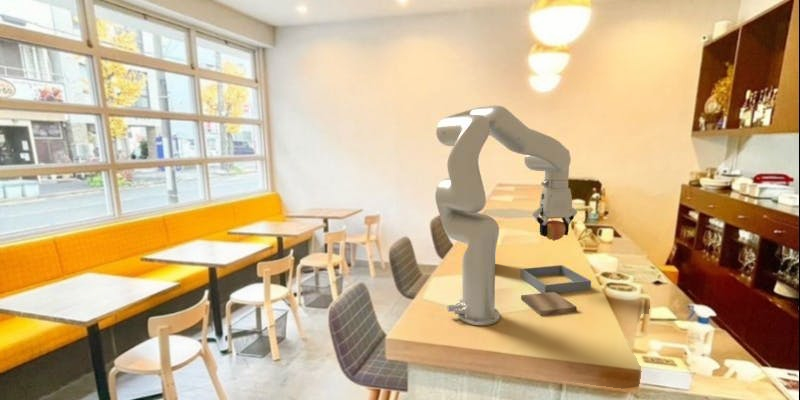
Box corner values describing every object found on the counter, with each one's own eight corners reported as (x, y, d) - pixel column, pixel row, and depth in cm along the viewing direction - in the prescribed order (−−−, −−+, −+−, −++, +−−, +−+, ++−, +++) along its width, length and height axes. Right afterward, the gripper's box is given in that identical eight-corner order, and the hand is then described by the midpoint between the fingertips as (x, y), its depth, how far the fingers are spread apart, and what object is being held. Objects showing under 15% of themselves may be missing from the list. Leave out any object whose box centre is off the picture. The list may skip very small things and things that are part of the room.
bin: (544, 295, 129) (545, 285, 128) (520, 277, 146) (520, 268, 145) (590, 290, 132) (591, 280, 131) (561, 273, 149) (561, 264, 148)
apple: (554, 243, 128) (555, 220, 127) (537, 238, 135) (538, 216, 134) (569, 241, 131) (571, 218, 130) (553, 236, 138) (554, 214, 137)
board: (540, 315, 114) (540, 311, 114) (521, 299, 126) (521, 295, 126) (576, 311, 116) (576, 306, 116) (554, 296, 128) (554, 291, 128)
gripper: (538, 186, 125) (536, 239, 127) (586, 184, 128) (583, 236, 131) (527, 184, 132) (525, 234, 135) (572, 182, 135) (569, 231, 138)
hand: (553, 234), depth 133 cm, fingers closed on apple, 7 cm apart
